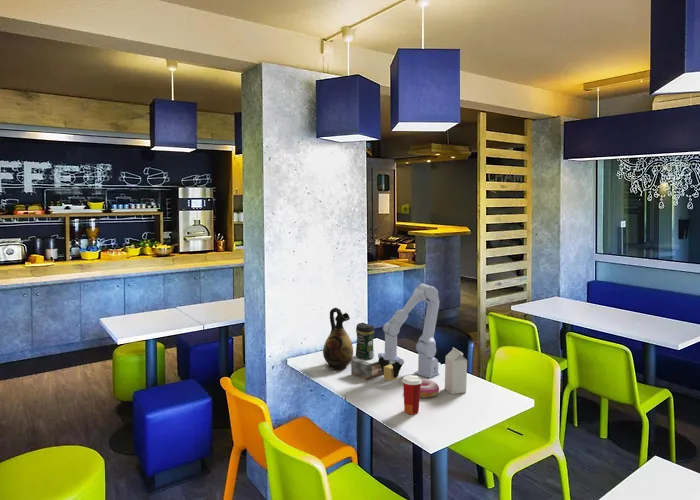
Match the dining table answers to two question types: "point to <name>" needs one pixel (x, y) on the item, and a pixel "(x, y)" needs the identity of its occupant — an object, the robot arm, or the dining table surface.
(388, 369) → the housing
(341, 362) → the ceramic jug
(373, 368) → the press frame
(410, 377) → the paper cup
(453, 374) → the milk carton
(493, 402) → the dining table surface
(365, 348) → the coffee jar
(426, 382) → the donut
